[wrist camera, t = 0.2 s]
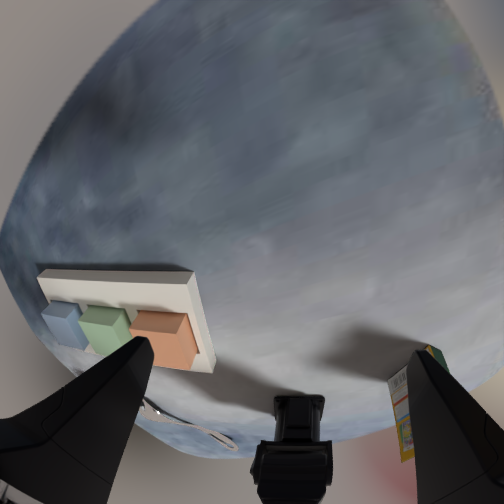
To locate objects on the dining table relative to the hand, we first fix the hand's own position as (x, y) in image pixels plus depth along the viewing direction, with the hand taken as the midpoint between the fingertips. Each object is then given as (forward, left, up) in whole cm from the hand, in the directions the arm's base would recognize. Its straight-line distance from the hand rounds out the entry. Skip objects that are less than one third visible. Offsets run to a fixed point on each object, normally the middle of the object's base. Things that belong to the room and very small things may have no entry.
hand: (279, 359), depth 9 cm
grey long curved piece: (-37, +17, -15) cm, 43 cm away
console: (-12, +19, -14) cm, 27 cm away
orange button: (-12, +12, -13) cm, 21 cm away
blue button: (-12, +26, -13) cm, 32 cm away
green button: (-12, +19, -13) cm, 26 cm away
